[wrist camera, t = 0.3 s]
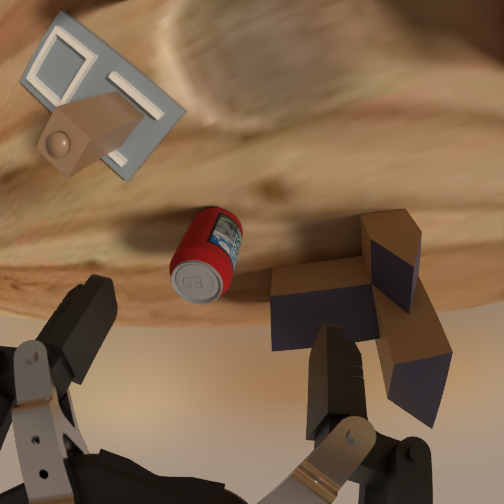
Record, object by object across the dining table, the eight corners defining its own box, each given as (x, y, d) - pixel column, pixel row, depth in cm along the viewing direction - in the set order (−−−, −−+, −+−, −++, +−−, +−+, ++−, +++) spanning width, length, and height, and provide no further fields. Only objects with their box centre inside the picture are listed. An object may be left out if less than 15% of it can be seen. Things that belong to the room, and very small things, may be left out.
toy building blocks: (402, 284, 44) (452, 434, 23) (280, 301, 48) (269, 460, 27) (405, 208, 38) (494, 360, 17) (263, 227, 41) (237, 400, 20)
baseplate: (24, 80, 32) (-47, 100, 20) (64, 10, 26) (-10, 7, 15) (130, 179, 39) (74, 229, 28) (187, 111, 34) (137, 136, 22)
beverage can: (246, 249, 43) (233, 309, 33) (198, 251, 44) (173, 309, 34) (240, 202, 40) (223, 254, 30) (188, 206, 41) (156, 257, 31)
